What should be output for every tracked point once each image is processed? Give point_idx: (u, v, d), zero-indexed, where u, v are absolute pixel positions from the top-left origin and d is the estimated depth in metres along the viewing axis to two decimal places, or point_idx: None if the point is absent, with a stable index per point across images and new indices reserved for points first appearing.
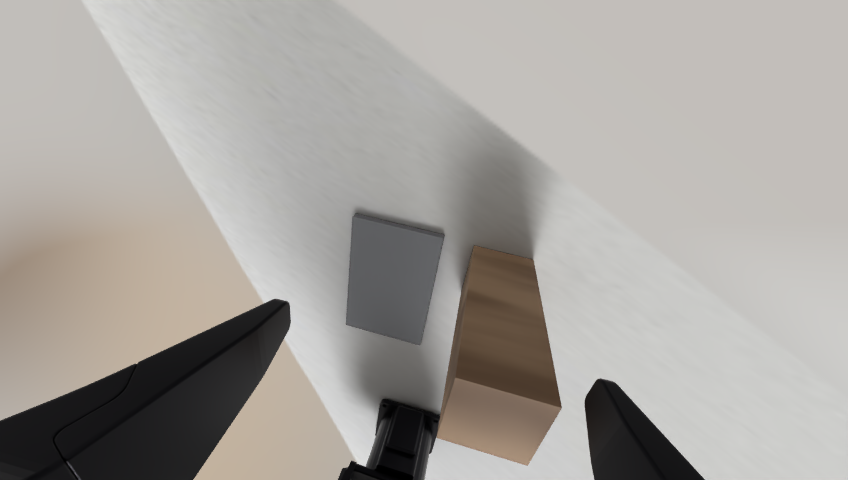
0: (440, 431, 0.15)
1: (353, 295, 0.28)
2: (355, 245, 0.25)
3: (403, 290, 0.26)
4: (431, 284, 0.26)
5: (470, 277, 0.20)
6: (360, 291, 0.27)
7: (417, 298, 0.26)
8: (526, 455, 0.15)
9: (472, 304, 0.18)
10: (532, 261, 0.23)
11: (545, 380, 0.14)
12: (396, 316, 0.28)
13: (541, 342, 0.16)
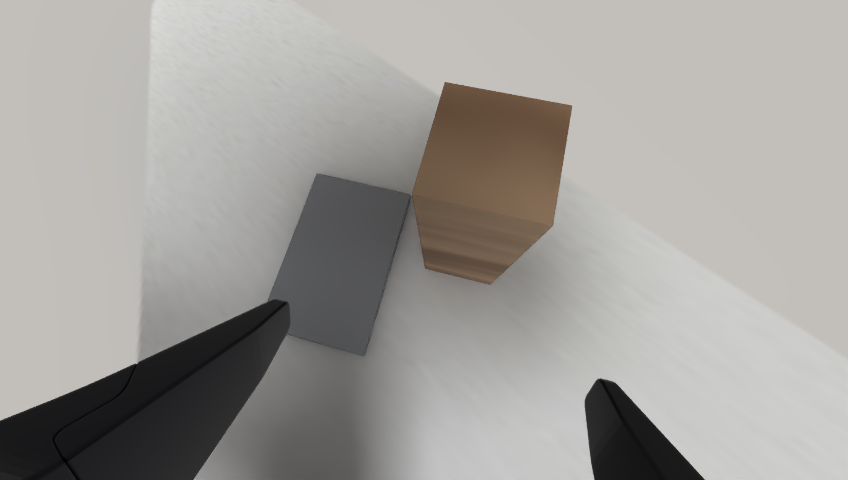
0: (420, 179, 0.10)
1: (286, 274, 0.21)
2: (310, 205, 0.23)
3: (354, 261, 0.21)
4: (391, 251, 0.21)
5: None
6: (298, 266, 0.21)
7: (371, 272, 0.21)
8: (546, 201, 0.10)
9: None
10: None
11: None
12: (337, 304, 0.21)
13: None
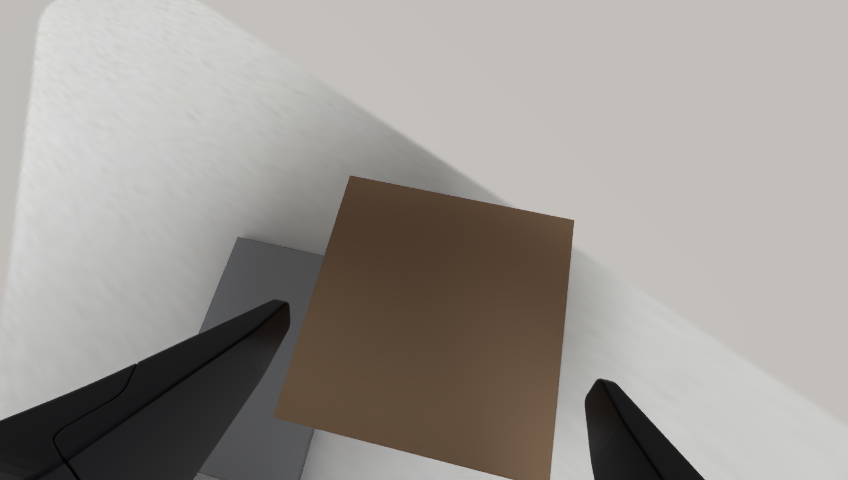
0: (290, 381, 0.05)
1: None
2: (227, 280, 0.17)
3: (283, 358, 0.16)
4: None
5: None
6: None
7: None
8: (535, 429, 0.05)
9: None
10: None
11: None
12: (258, 422, 0.15)
13: None
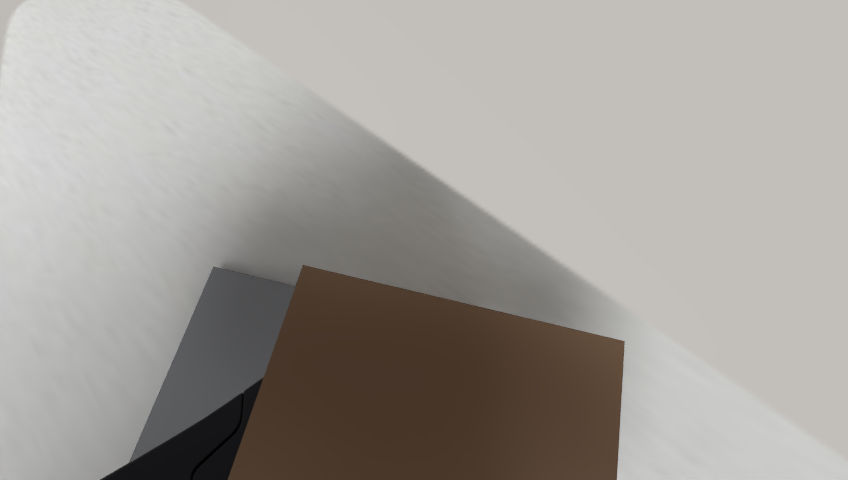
0: None
1: (154, 432, 0.14)
2: (199, 317, 0.15)
3: None
4: None
5: None
6: (174, 418, 0.14)
7: None
8: None
9: None
10: None
11: None
12: None
13: None
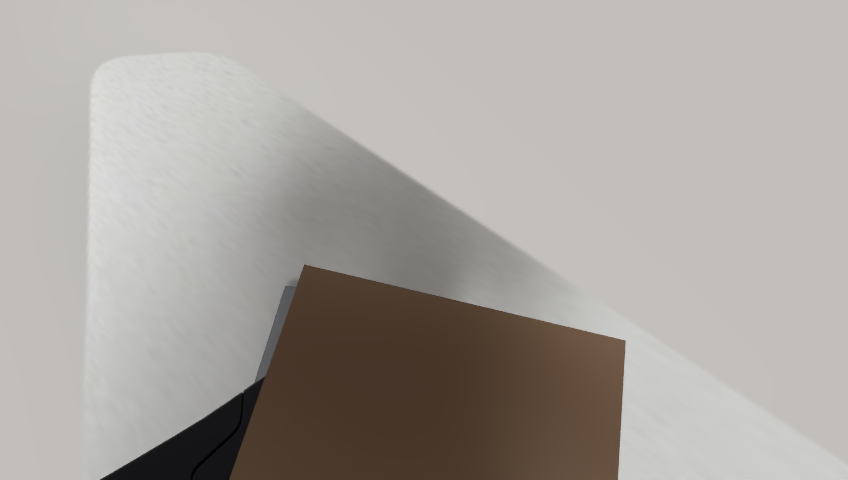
0: None
1: None
2: (278, 325, 0.20)
3: None
4: None
5: None
6: None
7: None
8: None
9: None
10: None
11: None
12: None
13: None
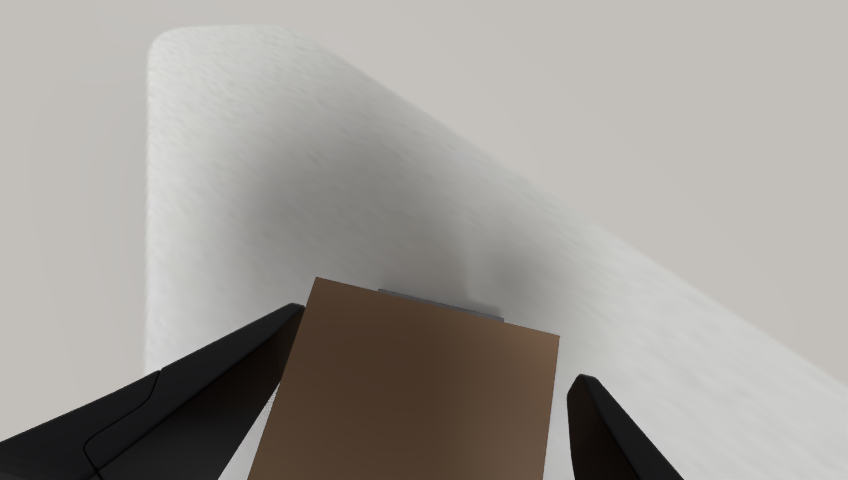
0: None
1: None
2: None
3: None
4: None
5: None
6: None
7: None
8: None
9: None
10: None
11: None
12: None
13: None
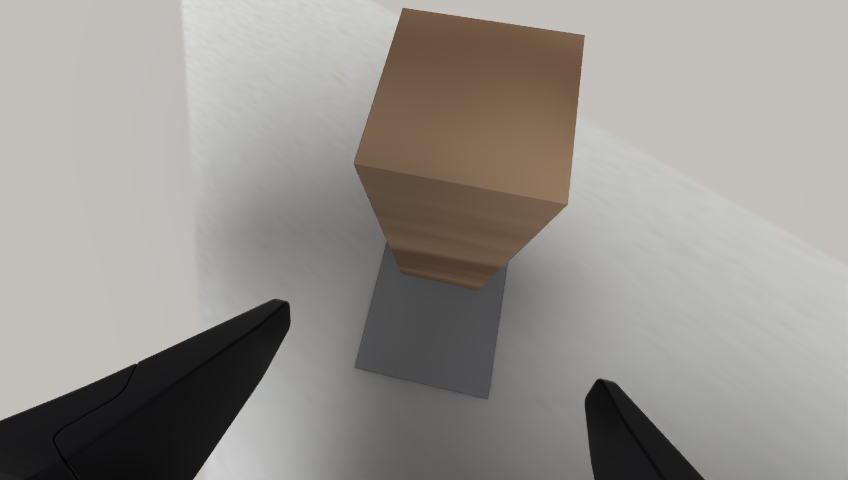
0: (366, 141, 0.07)
1: (381, 302, 0.18)
2: None
3: None
4: (503, 269, 0.18)
5: None
6: (394, 291, 0.18)
7: (484, 296, 0.18)
8: (556, 169, 0.07)
9: None
10: None
11: None
12: (448, 336, 0.17)
13: None
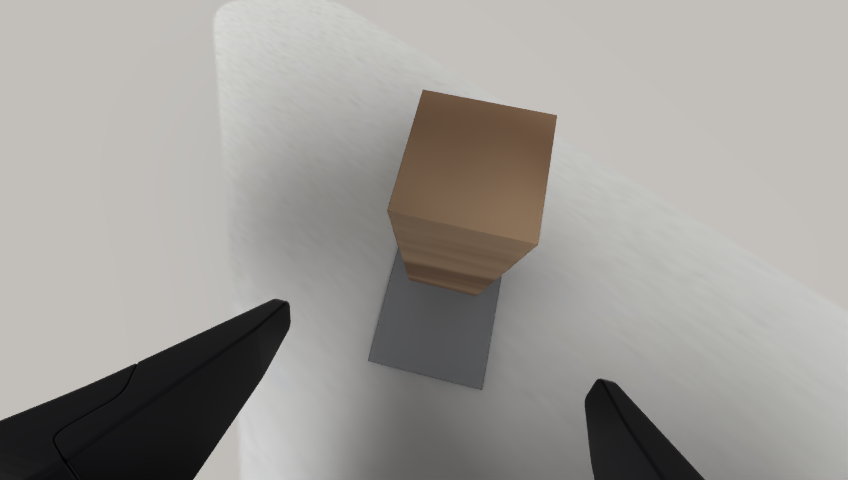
0: (395, 194, 0.10)
1: (391, 304, 0.20)
2: None
3: None
4: (498, 278, 0.21)
5: None
6: (403, 296, 0.21)
7: (480, 301, 0.20)
8: (531, 218, 0.09)
9: None
10: None
11: None
12: (449, 335, 0.20)
13: None
